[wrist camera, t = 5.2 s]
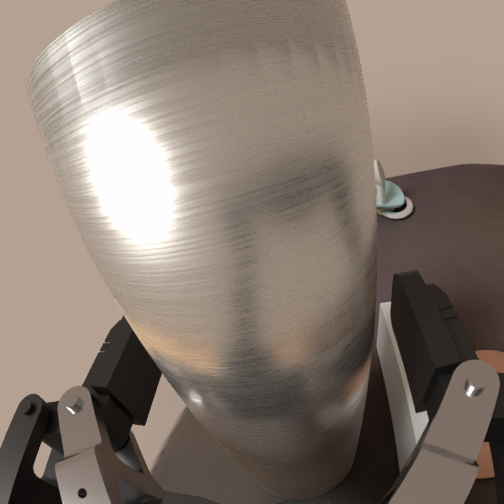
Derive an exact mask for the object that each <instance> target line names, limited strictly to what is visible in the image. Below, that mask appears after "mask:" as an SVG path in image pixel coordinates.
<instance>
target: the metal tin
mask: <svg viewBox="0 0 504 504" xmlns="http://www.w3.org/2000/svg"><path fill="white" fill-rule="evenodd" d="M25 80H26V86H27V91H28V95H29V99H30V102H31V106H32V110H33V113H34V117H35V120H36V123H37V127H38V130H39V133H40V136H41V139H42V142H43V145H44V148H45V151H46V154H47V157H48V159H49V162H50V165H51V168H52V170H53V173H54V175H55V178H56V181H57V183H58V186H59V188H60V190H61V193H62V195H63V198H64V200H65V202H66V205H67V207H68V209H69V212H70V214H71V216H72V218H73V220H74V223H75V225H76V227H77V229H78V231H79V233H80V235H81V238H82V240H83V242H84V243H85V246H86V248H87V250H88V252H89V254H90V256H91V258H92V260H93V261H94V263H95V265H96V267H97V269H98V271H99V273H100V275H101V276H102V278H103V280H104V282H105V284H106V285H107V287H108V289H109V291H110V293H111V294H112V296H113V298H114V300H115V301H116V303H117V305H118V306H119V308H120V310H121V311H122V313H123V314H124V316H125V318H126V320H127V321H128V323H129V324H130V326H131V328H132V329H133V331H134V332H135V334H136V335H137V337H138V338H139V340H140V341H141V343H142V344H143V346H144V347H145V349H146V350H147V352H148V353H149V355H150V356H151V358H152V359H153V361H154V362H155V364H156V365H157V366H158V368H159V369H160V371H161V372H162V373H163V375H164V376H165V378H166V379H167V380H168V382H169V383H170V384H171V386H172V387H173V388H174V390H175V391H176V392H177V394H178V395H179V396H180V397H181V399H182V400H183V401H184V403H185V404H186V405H187V406H188V408H189V409H190V410H191V411H192V413H193V414H194V415H195V416H196V418H197V419H198V420H199V421H200V422H201V424H202V425H203V426H204V427H205V428H206V430H207V431H208V432H209V433H210V434H211V435H212V437H213V438H214V439H215V440H216V441H217V442H218V443H219V444H220V446H221V447H222V448H223V449H224V450H225V451H226V452H227V453H228V454H229V455H230V457H231V458H232V459H233V460H234V461H235V462H236V463H237V464H238V465H239V466H240V467H241V468H242V469H243V470H244V471H245V472H246V473H247V474H248V475H249V476H250V477H251V478H252V479H253V480H254V481H255V482H256V483H257V484H258V485H259V486H260V487H261V488H262V489H263V490H265V491H266V492H268V493H270V494H272V495H274V496H276V497H279V498H283V499H288V500H306V499H311V498H315V497H318V496H321V495H323V494H325V493H327V492H329V491H331V490H332V489H334V488H335V487H336V486H337V485H339V484H340V483H341V482H342V481H343V480H344V479H345V477H346V476H347V474H348V473H349V471H350V469H351V468H352V465H353V462H354V459H355V455H356V450H357V445H358V440H359V435H360V430H361V425H362V419H363V414H364V408H365V402H366V395H367V388H368V381H369V373H370V365H371V356H372V347H373V336H374V323H375V309H376V289H377V205H376V185H375V170H374V159H373V147H372V138H371V129H370V121H369V113H368V106H367V99H366V93H365V86H364V81H363V75H362V69H361V64H360V59H359V54H358V49H357V45H356V40H355V36H354V31H353V27H352V23H351V19H350V15H349V11H348V8H347V4H346V0H116V1H114V2H112V3H110V4H108V5H106V6H104V7H102V8H100V9H99V10H97V11H95V12H93V13H91V14H90V15H88V16H87V17H85V18H83V19H82V20H80V21H79V22H77V23H76V24H74V25H73V26H72V27H70V28H69V29H67V30H66V31H65V32H63V33H62V34H61V35H60V36H59V37H57V38H56V39H55V40H54V41H53V42H52V43H50V44H49V45H48V46H47V47H46V48H45V49H44V50H43V51H42V53H41V54H40V55H39V56H38V57H37V58H36V60H35V61H34V62H33V64H32V65H31V67H30V69H29V70H28V73H27V76H26V79H25Z"/></svg>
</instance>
